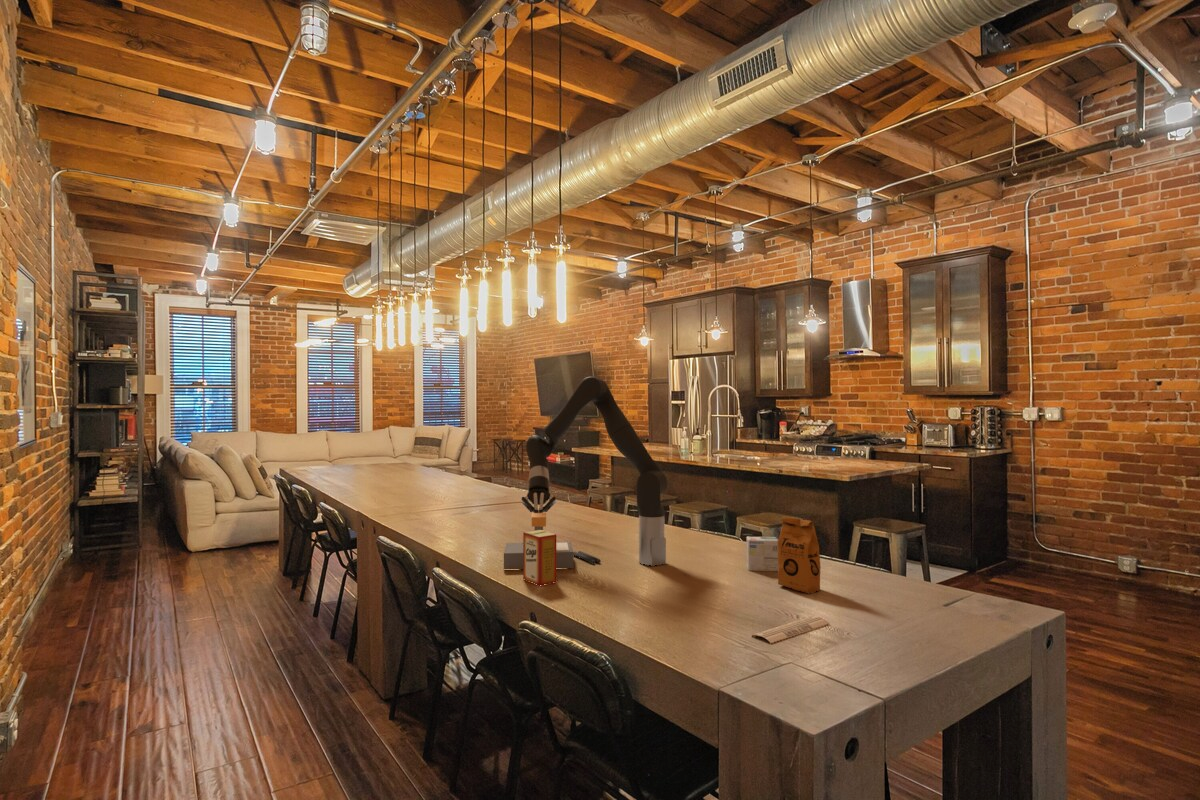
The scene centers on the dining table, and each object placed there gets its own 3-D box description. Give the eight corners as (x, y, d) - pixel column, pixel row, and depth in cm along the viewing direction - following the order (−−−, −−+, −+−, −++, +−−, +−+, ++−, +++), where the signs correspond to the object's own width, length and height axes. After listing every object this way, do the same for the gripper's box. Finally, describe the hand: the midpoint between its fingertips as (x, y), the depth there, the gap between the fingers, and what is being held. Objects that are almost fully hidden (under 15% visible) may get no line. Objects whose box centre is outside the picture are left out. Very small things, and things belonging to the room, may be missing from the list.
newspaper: (810, 620, 174) (810, 614, 174) (833, 628, 168) (833, 621, 168) (751, 639, 160) (751, 632, 160) (774, 648, 154) (774, 641, 154)
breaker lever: (531, 542, 231) (531, 513, 225) (545, 541, 231) (546, 512, 225) (531, 546, 228) (531, 517, 223) (545, 546, 229) (546, 517, 223)
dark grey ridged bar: (601, 563, 231) (601, 559, 231) (592, 564, 229) (592, 560, 229) (580, 554, 244) (580, 550, 244) (571, 555, 242) (571, 551, 242)
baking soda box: (556, 582, 207) (556, 533, 207) (539, 586, 202) (539, 535, 202) (539, 576, 214) (540, 528, 214) (523, 579, 210) (523, 531, 210)
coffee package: (806, 596, 193) (806, 523, 193) (773, 586, 203) (773, 517, 203) (826, 590, 199) (826, 519, 199) (793, 581, 209) (793, 513, 209)
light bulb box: (776, 566, 227) (776, 536, 227) (779, 571, 220) (779, 540, 220) (745, 565, 228) (745, 535, 228) (748, 571, 221) (748, 539, 221)
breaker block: (506, 559, 237) (506, 534, 237) (571, 557, 239) (571, 533, 239) (503, 570, 221) (503, 544, 221) (573, 569, 223) (573, 543, 223)
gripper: (520, 474, 235) (519, 514, 223) (556, 474, 237) (557, 514, 225) (521, 487, 241) (519, 526, 229) (556, 486, 242) (556, 526, 230)
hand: (538, 520), depth 227 cm, fingers closed
